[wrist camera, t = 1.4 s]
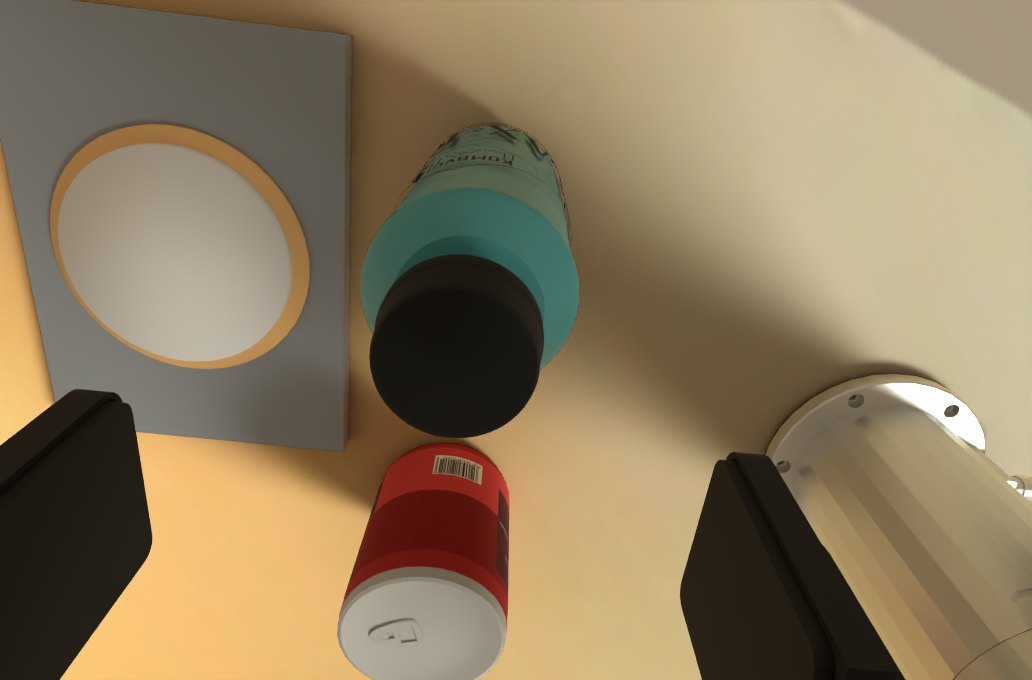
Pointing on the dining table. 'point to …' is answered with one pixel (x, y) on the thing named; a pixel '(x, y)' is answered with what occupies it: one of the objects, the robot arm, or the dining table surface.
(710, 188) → the dining table surface
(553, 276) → the beverage bottle
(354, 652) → the canned food
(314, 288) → the board
